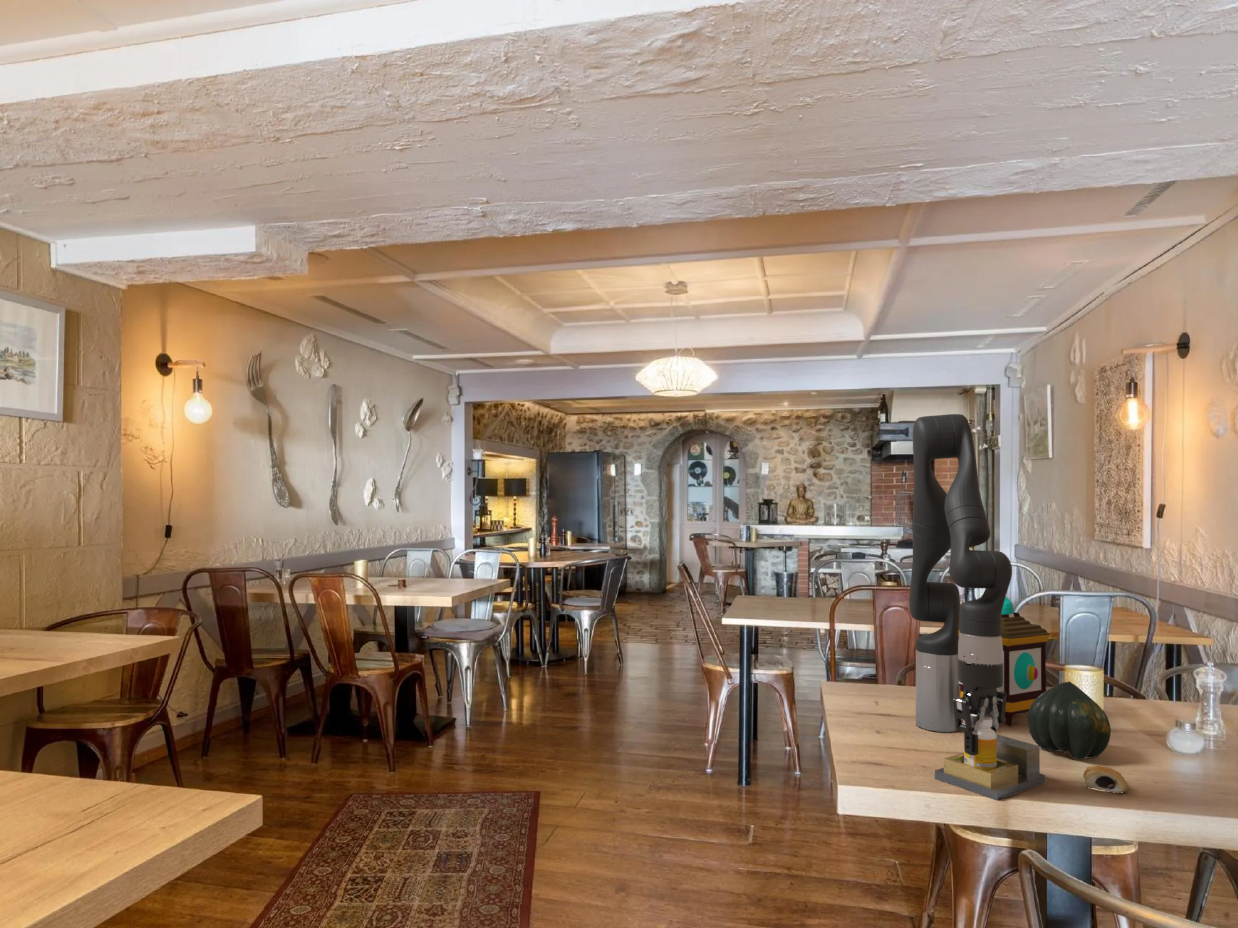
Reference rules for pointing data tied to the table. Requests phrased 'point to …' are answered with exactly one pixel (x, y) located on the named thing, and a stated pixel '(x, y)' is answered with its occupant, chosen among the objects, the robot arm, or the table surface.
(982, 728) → the supplement bottle
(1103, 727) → the squash
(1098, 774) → the pastry
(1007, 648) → the decorative lantern
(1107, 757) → the table surface
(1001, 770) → the grey and tan tray
